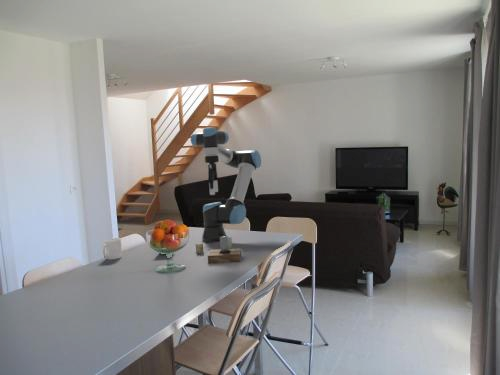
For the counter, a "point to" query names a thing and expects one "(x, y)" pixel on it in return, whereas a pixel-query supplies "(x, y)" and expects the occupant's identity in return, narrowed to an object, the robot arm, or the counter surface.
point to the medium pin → (229, 242)
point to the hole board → (225, 256)
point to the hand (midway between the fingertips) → (214, 193)
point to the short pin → (199, 248)
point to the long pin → (224, 244)
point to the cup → (112, 248)
